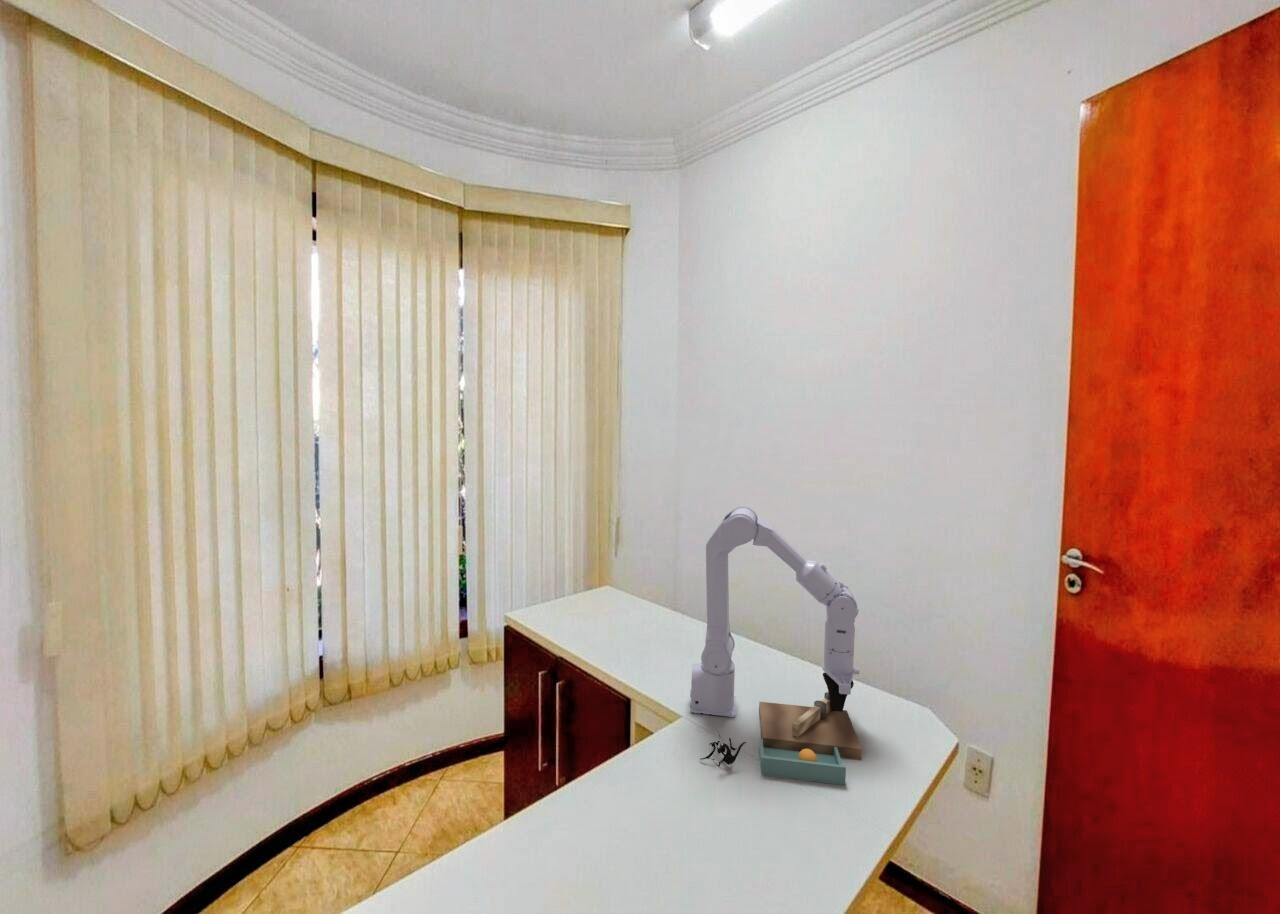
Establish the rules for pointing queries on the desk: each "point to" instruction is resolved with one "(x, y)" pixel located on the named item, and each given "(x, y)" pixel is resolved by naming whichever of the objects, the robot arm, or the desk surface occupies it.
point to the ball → (807, 755)
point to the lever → (811, 716)
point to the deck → (808, 731)
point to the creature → (728, 756)
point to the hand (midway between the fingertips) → (836, 710)
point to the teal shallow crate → (802, 765)
